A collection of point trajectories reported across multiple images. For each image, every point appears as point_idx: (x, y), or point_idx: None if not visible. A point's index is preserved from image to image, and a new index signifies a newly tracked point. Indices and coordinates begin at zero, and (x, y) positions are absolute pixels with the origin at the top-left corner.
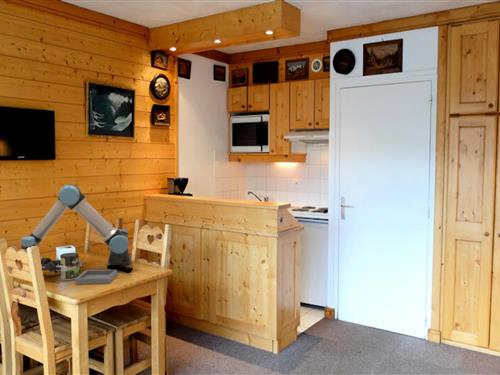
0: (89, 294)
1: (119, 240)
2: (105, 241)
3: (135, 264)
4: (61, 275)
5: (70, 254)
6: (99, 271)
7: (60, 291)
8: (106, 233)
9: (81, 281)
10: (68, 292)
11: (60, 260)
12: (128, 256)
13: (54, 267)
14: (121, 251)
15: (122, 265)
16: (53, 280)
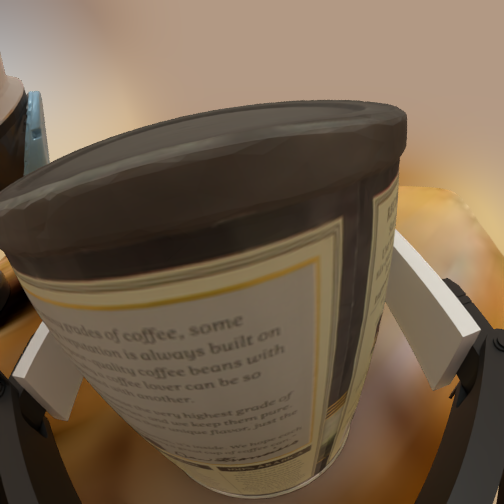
0: (408, 189)
1: (42, 112)
2: (1, 126)
3: (10, 270)
4: (347, 430)
5: (147, 136)
6: None
7: (479, 250)
8: (2, 75)
9: None
10: (455, 226)
11: (380, 282)
12: None
13: (500, 341)
14: None
15: (9, 287)
16: (406, 489)
